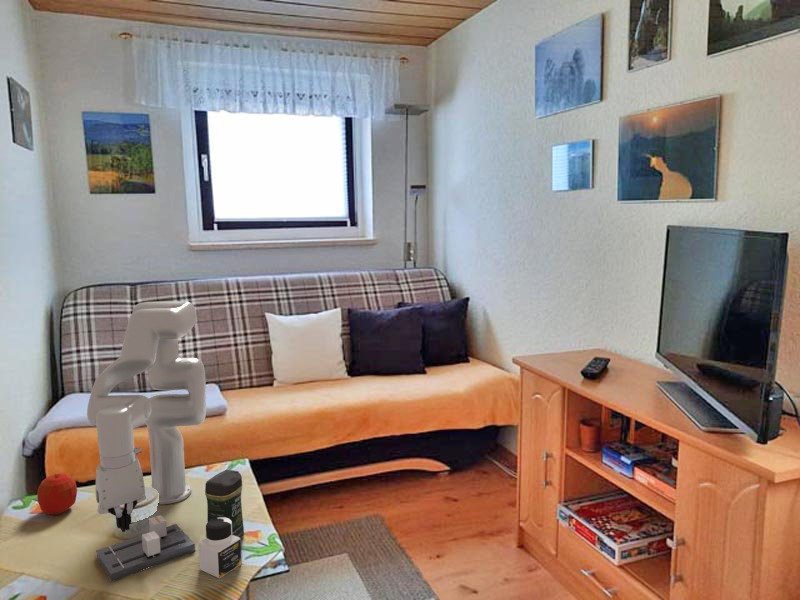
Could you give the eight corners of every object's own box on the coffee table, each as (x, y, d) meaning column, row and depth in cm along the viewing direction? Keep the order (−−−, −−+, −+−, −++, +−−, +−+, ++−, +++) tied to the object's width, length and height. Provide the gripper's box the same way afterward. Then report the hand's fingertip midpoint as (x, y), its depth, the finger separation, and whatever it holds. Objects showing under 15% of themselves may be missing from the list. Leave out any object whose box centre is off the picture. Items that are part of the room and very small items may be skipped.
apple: (65, 520, 168) (62, 481, 167) (30, 519, 169) (26, 481, 167) (85, 502, 178) (82, 466, 177) (51, 502, 179) (48, 465, 177)
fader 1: (149, 532, 157) (148, 518, 156) (161, 529, 159) (160, 514, 158) (155, 539, 154) (154, 524, 153) (166, 535, 156) (165, 520, 155)
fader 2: (142, 549, 149) (141, 534, 149) (155, 545, 151) (154, 530, 150) (148, 556, 146) (147, 541, 146) (160, 552, 148) (159, 536, 147)
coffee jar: (229, 554, 152) (225, 484, 149) (202, 548, 154) (198, 480, 151) (249, 534, 161) (246, 469, 158) (224, 529, 163) (221, 465, 160)
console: (96, 557, 150) (95, 549, 150) (176, 530, 163) (175, 523, 162) (111, 581, 140) (110, 573, 140) (195, 550, 153) (194, 543, 153)
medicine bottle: (219, 579, 141) (217, 532, 139) (199, 570, 145) (196, 523, 143) (242, 564, 147) (240, 518, 145) (222, 555, 151) (220, 511, 149)
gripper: (145, 444, 149) (150, 511, 152) (79, 461, 139) (86, 533, 143) (155, 454, 143) (161, 524, 147) (87, 473, 134) (95, 547, 137)
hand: (124, 528), depth 145 cm, fingers closed
